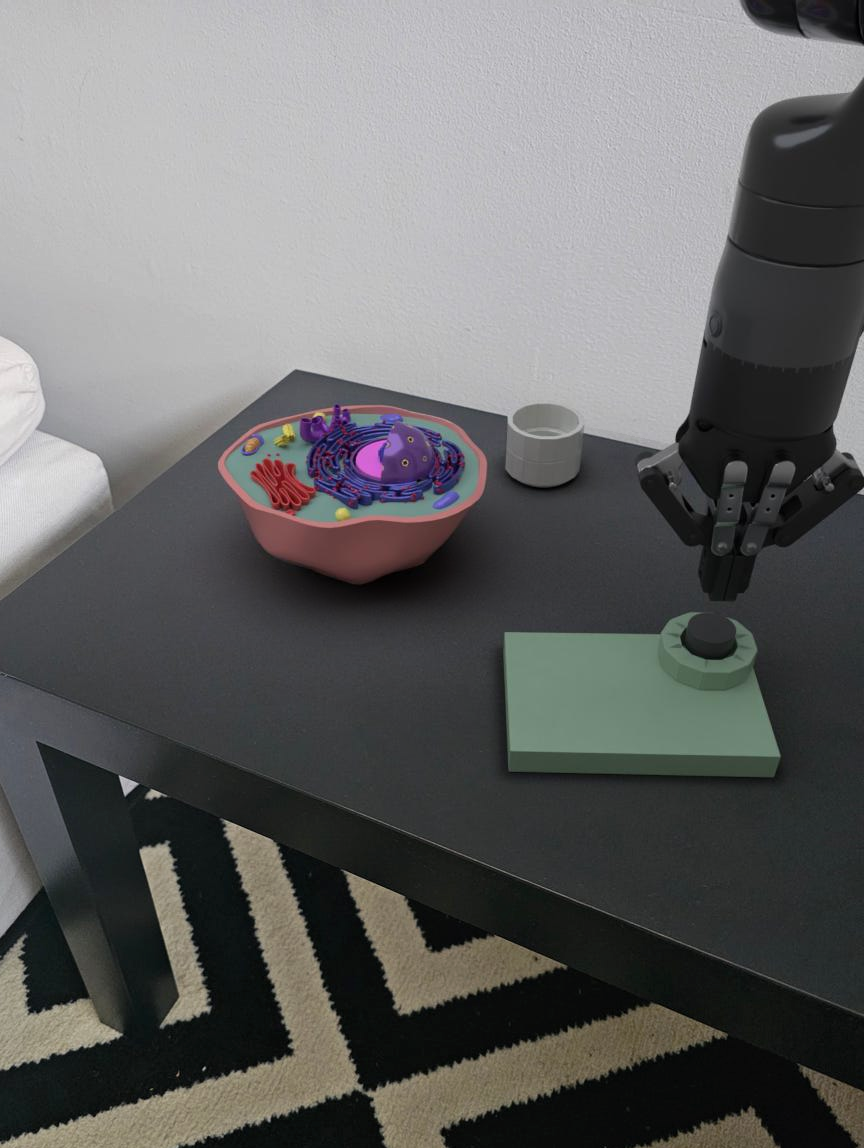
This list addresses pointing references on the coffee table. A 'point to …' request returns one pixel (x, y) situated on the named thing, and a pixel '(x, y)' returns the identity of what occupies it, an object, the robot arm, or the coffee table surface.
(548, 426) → the white cup
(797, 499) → the robot arm
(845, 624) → the coffee table surface
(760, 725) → the scale
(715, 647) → the button
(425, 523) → the cell model
